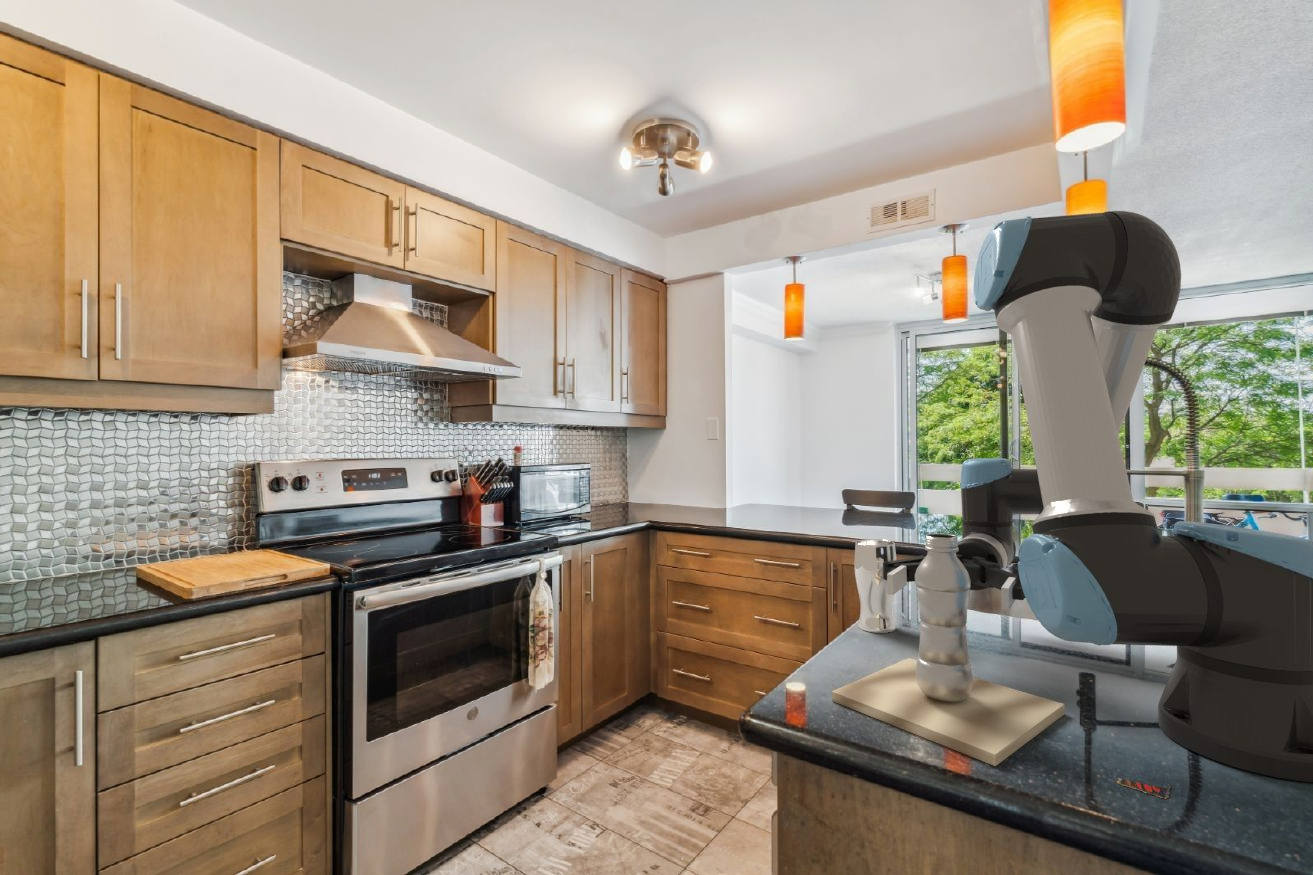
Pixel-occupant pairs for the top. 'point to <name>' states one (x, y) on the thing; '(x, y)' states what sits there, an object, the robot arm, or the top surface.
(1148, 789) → the red brown flat piece
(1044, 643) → the top surface
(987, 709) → the birch board
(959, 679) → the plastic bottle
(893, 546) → the beer glass
